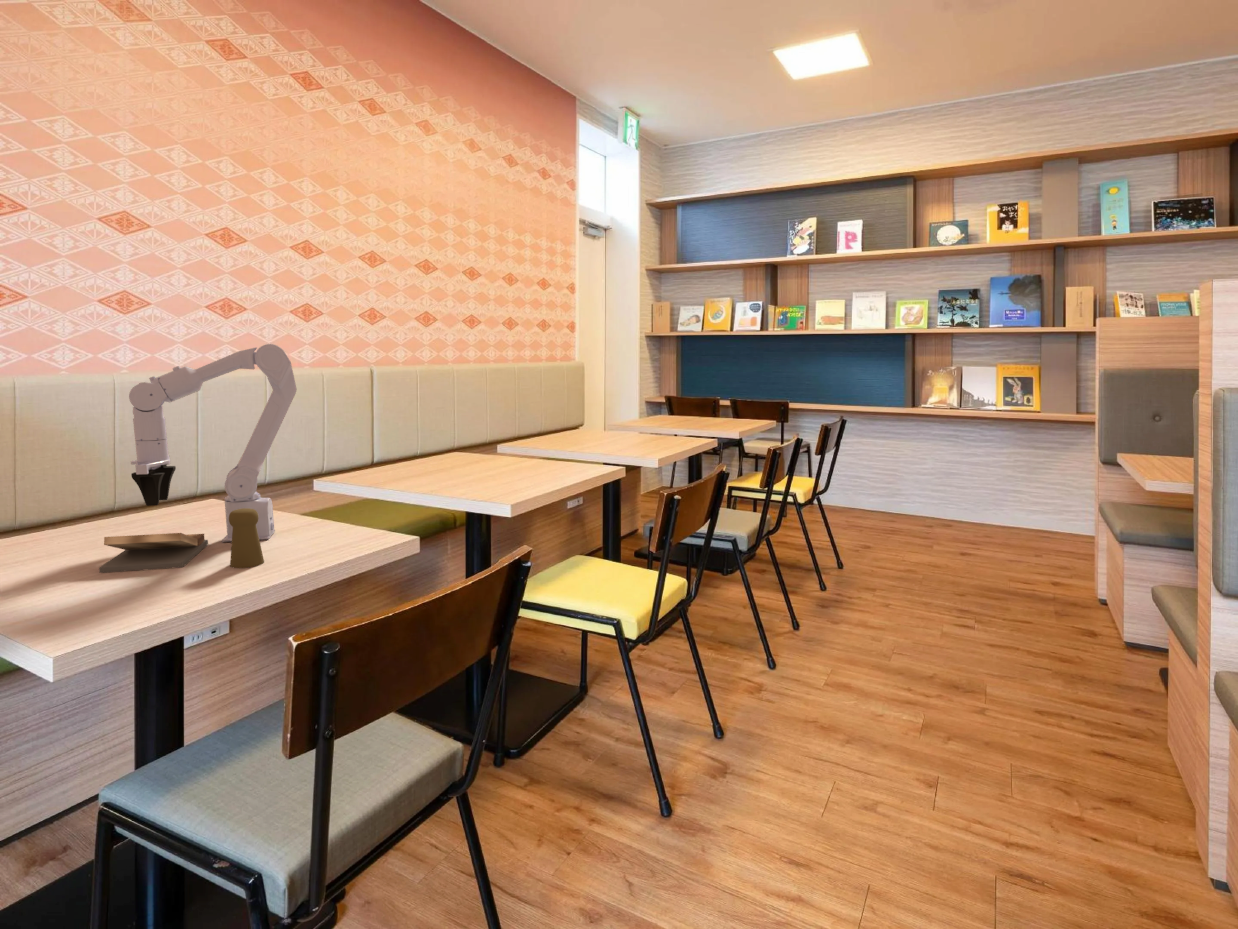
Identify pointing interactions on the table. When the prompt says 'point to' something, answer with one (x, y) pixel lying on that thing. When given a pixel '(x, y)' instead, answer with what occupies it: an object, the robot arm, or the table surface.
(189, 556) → the rubber mat
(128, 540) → the oak plank
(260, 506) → the robot arm
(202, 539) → the brown curved block
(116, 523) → the table surface
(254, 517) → the olive pawn
